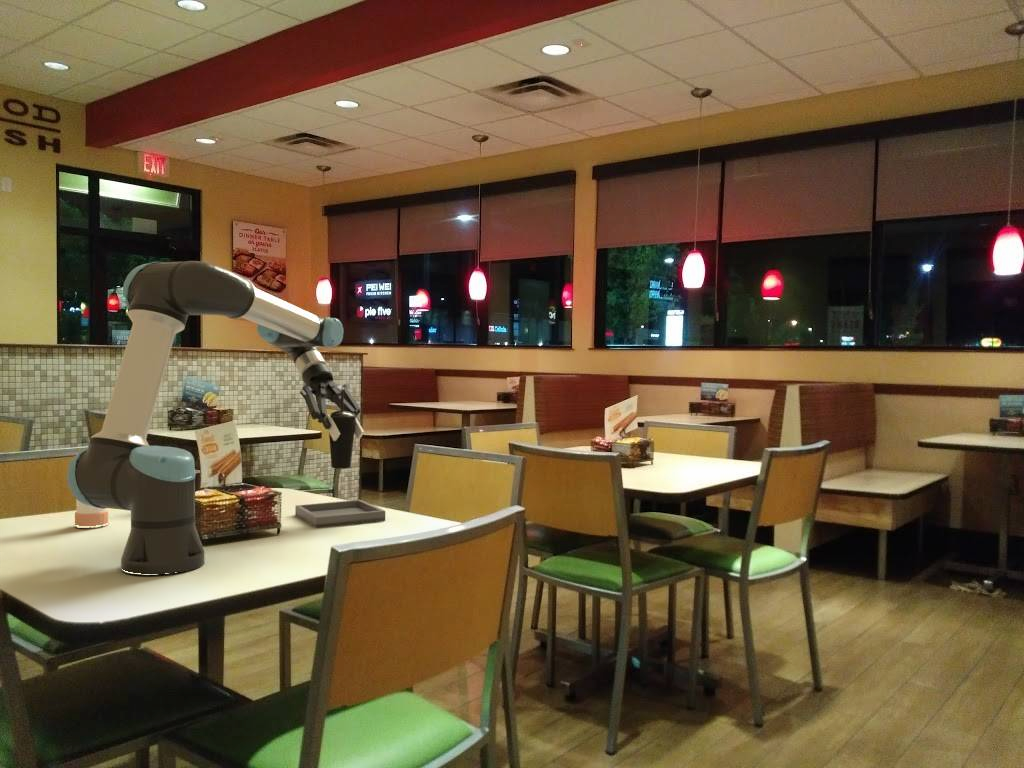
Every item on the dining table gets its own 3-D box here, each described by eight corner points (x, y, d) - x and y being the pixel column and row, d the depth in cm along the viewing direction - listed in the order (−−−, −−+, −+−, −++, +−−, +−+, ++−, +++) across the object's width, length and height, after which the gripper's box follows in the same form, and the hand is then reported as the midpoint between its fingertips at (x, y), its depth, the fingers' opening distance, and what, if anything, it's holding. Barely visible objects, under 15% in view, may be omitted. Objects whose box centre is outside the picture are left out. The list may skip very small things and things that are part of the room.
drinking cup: (352, 469, 201) (353, 391, 200) (322, 468, 201) (324, 390, 200) (358, 465, 208) (360, 390, 208) (330, 465, 208) (331, 389, 208)
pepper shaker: (68, 526, 190) (68, 448, 190) (98, 521, 197) (97, 445, 196) (84, 530, 186) (84, 450, 186) (114, 525, 193) (114, 447, 192)
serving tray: (316, 527, 192) (316, 517, 192) (295, 514, 207) (295, 505, 207) (385, 520, 201) (385, 510, 201) (360, 508, 217) (360, 499, 217)
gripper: (339, 380, 221) (374, 442, 211) (276, 381, 207) (310, 448, 197) (350, 362, 218) (386, 424, 207) (287, 362, 203) (321, 429, 193)
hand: (349, 436), depth 202 cm, fingers closed on drinking cup, 7 cm apart
